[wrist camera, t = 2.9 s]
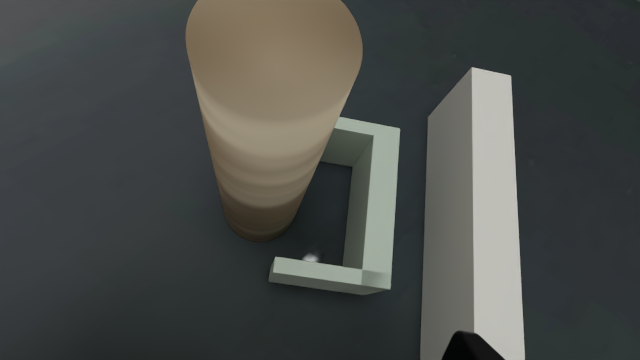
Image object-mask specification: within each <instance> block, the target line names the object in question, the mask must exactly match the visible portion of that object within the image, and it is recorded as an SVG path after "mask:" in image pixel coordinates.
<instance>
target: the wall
mask: <svg viewBox="0 0 640 360" xmlns="http://www.w3.org/2000/svg"><path fill="white" fill-rule="evenodd" d="M459 330H461V331H468V332H474V333H477V334H478V335H480V336H481V337H482V338H483V339H484V340H485V341H486V342H487V343H488V344H489V345H490V346H491V347H492V348H493V349H495V350H496V351H497V352H498V353H499V354H500V355H501V356H502V357H503V358H504V359H505V360H525V352H524V332H523V311H522V291H521V271H520V251H519V230H518V210H517V190H516V170H515V149H514V129H513V109H512V89H511V76H510V75H505V74H501V73H496V72H491V71H487V70H482V69H477V68H473V67H472V68H471V69H470V70H469V71H468V72H467V73H466V74H465V76H464V77H463V78H462V79H461V80H460V81H459V82H458V83H457V85H456V86H455V87H454V88H453V89H452V90H451V91H450V93H449V94H448V95H447V96H446V97H445V98H444V99H443V101H442V102H441V103H440V104H439V105H438V106H437V107H436V109H435V110H434V111H433V112H432V113H431V114H430V115H429V116H428V134H427V164H426V194H425V223H424V253H423V283H422V313H421V343H420V360H442V356H443V354H444V352H445V350H446V348H447V346H448V344H449V342H450V340H451V337H452V335H453V334H454V333H455V332H456V331H459Z"/></svg>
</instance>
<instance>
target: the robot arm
mask: <svg viewBox="0 0 640 360" xmlns="http://www.w3.org/2000/svg"><path fill="white" fill-rule="evenodd" d="M442 360H505V359H504V358H503V357H502V356H501V355H500V354H499V353H498V352H497V351H496V350H495V349H493V348H492V347H491V346H490V345H489V344H488V343H487V342H486V341H485V340H484V339H483V338H482V337H481V336H480V335H478V334H477V333H474V332H468V331H461V330H459V331H456V332H455V333H454V334H453V335H452V337H451V340H450V342H449V344H448V346H447V348H446V350H445V352H444V354H443V356H442Z"/></svg>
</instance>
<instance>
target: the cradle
mask: <svg viewBox="0 0 640 360" xmlns="http://www.w3.org/2000/svg"><path fill="white" fill-rule="evenodd" d="M399 137H400V128H394V127H389V126H384V125H379V124H374V123H368V122H363V121H358V120H353V119H348V118H343V117H339V118H338V120H337V122H336V124H335V127H334V129H333V131H332V133H331V136H330V138H329V140H328V142H327V145H326V147H325V149H324V152H323V154H322V156H321V158H320V161H322V162H327V163H333V164H339V165H344V166H350V167H352V177H351V187H350V196H349V206H348V216H347V226H346V235H345V245H344V255H343V265H342V267H341V266H335V265H328V264H321V263H315V262H308V261H301V260H295V259H288V258H281V257H275V259H274V261H273V264H272V266H271V268H270V274H269V280H268V282H274V283H281V284H288V285H295V286H302V287H309V288H316V289H323V290H330V291H337V292H344V293H351V294H358V295H367V294H371V293H376V292H380V291H385V290H389V289H390V286H391V269H392V253H393V236H394V220H395V203H396V186H397V170H398V153H399Z"/></svg>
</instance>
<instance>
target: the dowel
mask: <svg viewBox="0 0 640 360" xmlns="http://www.w3.org/2000/svg"><path fill="white" fill-rule="evenodd" d="M186 46H187V52H188V57H189V61H190V65H191V70H192V74H193V78H194V83H195V87H196V92H197V96H198V100H199V105H200V109H201V114H202V118H203V122H204V127H205V131H206V136H207V140H208V144H209V149H210V153H211V158H212V162H213V166H214V171H215V175H216V180H217V184H218V188H219V193H220V197H221V202H222V206H223V210H224V215H225V218H226V221H227V223H228V224H229V226H230V227H231V229H232V230H233V231H234V232H235V233H236V234H238V235H239V236H240V237H242V238H244V239H247V240H250V241H256V242H264V241H269V240H272V239H275V238H277V237H279V236H280V235H282V234H283V233H284V232H285V231H286V230H287V229H288V228H289V227H290V225H291V223H292V221H293V219H294V217H295V215H296V213H297V210H298V208H299V206H300V204H301V201H302V199H303V197H304V195H305V192H306V190H307V188H308V185H309V183H310V181H311V179H312V176H313V174H314V172H315V170H316V167H317V165H318V163H319V161H320V158H321V156H322V154H323V152H324V149H325V147H326V145H327V142H328V140H329V138H330V136H331V133H332V131H333V129H334V127H335V124H336V122H337V120H338V118H339V115H340V113H341V111H342V109H343V106H344V104H345V102H346V99H347V97H348V95H349V93H350V90H351V88H352V86H353V84H354V81H355V79H356V77H357V75H358V72H359V69H360V66H361V61H362V40H361V35H360V32H359V28H358V26H357V24H356V21H355V19H354V18H353V16H352V14H351V13H350V11H349V10H348V9H347V7H346V6H345V5H344V3H343V2H342V1H341V0H198V1H197V2H196V4H195V6H194V7H193V9H192V11H191V14H190V16H189V19H188V22H187V27H186Z"/></svg>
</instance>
